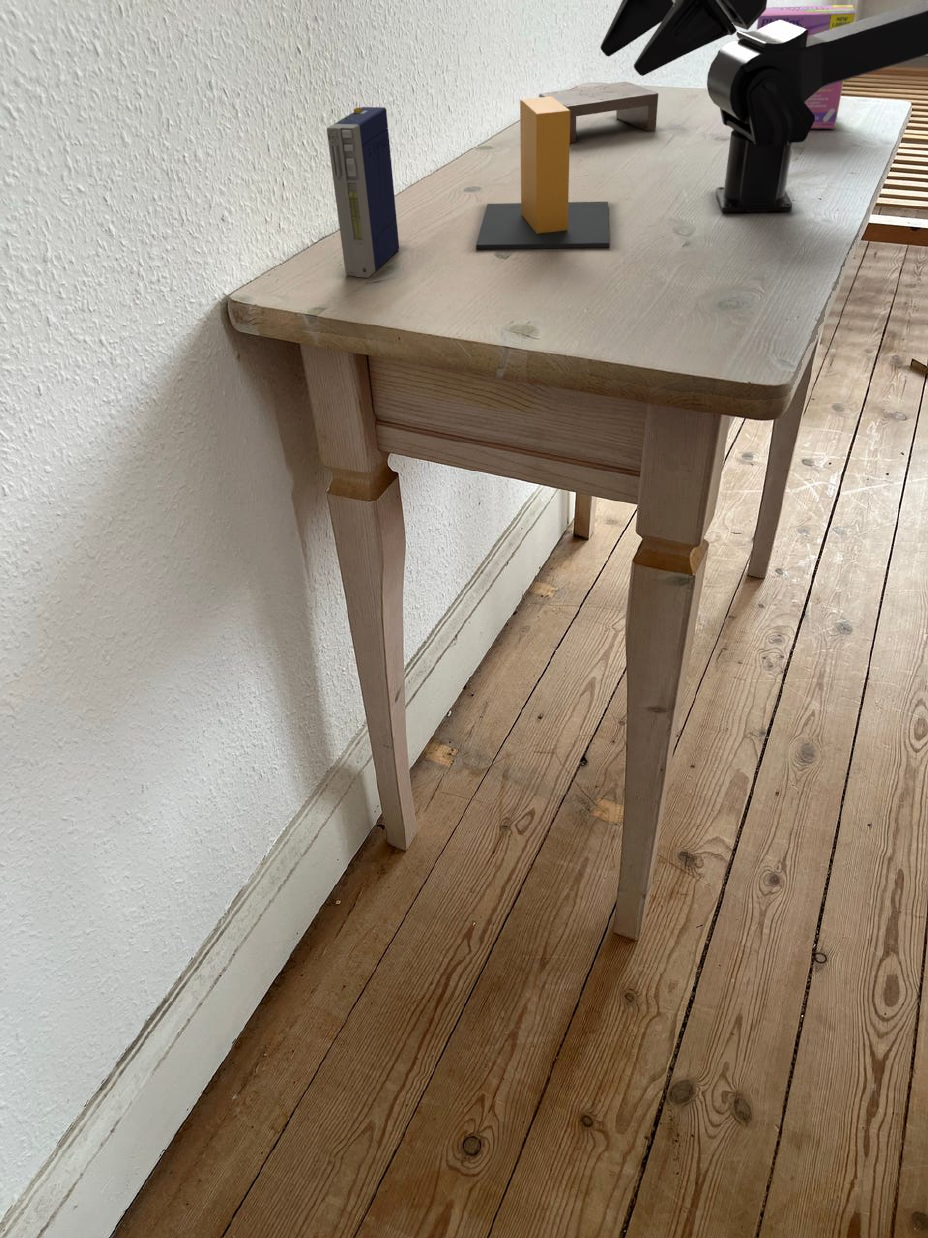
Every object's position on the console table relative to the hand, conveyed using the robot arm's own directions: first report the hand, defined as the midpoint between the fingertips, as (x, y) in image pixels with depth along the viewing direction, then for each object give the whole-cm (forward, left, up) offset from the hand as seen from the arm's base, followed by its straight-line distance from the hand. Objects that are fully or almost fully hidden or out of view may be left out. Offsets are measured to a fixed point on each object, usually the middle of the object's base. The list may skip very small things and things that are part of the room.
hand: (619, 61), depth 81 cm
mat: (-2, +6, -13) cm, 15 cm away
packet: (-2, +6, -13) cm, 14 cm away
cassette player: (-11, +21, -13) cm, 27 cm away
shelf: (+34, +1, -13) cm, 37 cm away
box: (+34, -22, -13) cm, 43 cm away
